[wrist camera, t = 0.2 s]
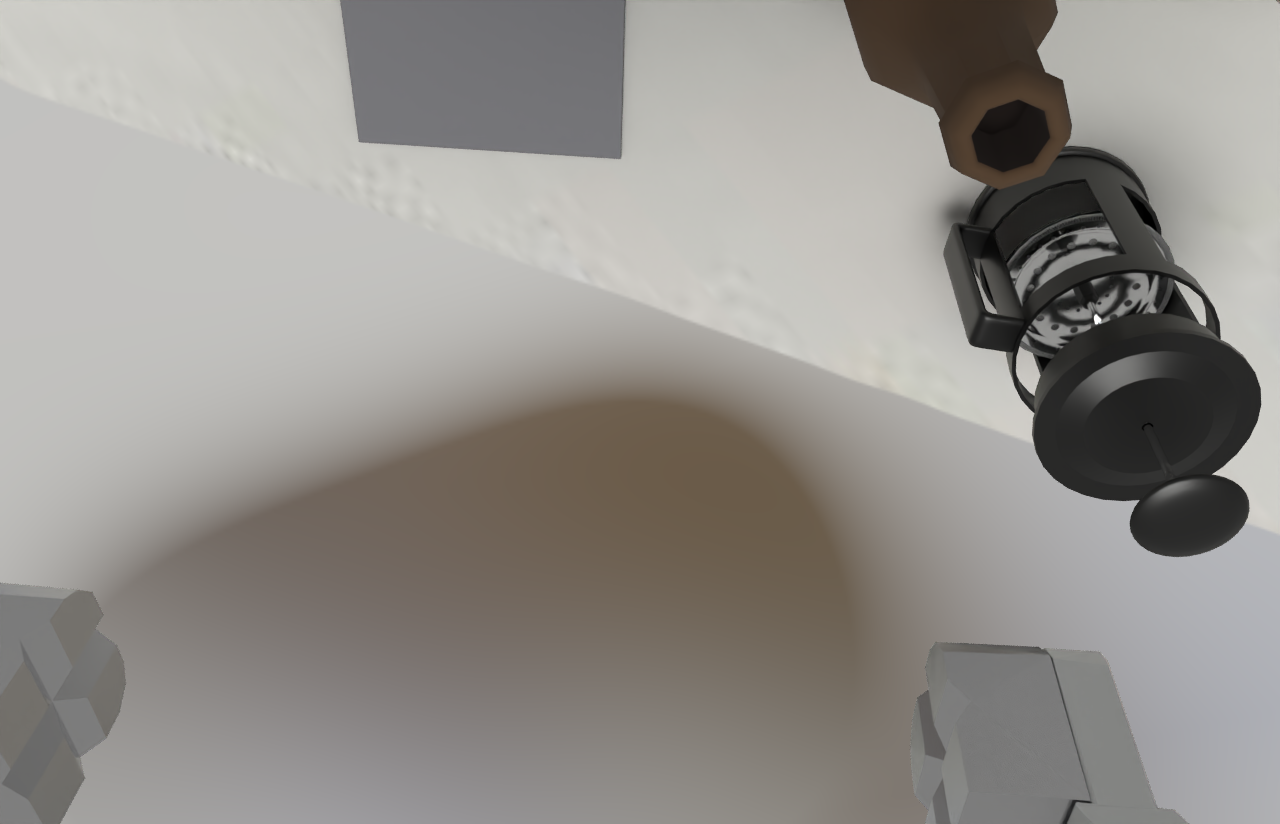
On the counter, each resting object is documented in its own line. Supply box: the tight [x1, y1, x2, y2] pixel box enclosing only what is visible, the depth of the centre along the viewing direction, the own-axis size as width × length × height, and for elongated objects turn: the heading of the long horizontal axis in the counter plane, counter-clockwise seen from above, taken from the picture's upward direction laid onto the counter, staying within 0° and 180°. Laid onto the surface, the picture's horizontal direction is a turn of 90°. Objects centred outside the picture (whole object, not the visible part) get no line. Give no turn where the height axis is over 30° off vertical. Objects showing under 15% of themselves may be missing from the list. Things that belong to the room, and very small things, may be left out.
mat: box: [340, 0, 625, 159], centre depth 55 cm, size 11×14×1 cm
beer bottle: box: [844, 0, 1072, 190], centre depth 41 cm, size 8×8×24 cm
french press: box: [944, 147, 1261, 557], centre depth 50 cm, size 12×9×23 cm
